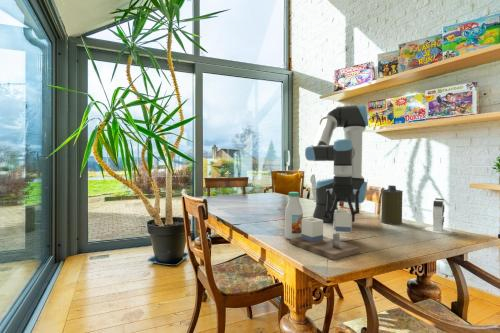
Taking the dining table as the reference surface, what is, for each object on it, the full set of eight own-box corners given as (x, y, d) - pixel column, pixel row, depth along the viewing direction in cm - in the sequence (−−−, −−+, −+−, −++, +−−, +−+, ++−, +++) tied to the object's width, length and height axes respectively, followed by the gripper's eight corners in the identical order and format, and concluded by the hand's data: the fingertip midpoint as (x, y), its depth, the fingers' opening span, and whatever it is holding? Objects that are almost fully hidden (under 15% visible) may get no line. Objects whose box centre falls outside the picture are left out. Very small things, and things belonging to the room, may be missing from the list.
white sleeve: (335, 231, 120) (335, 212, 120) (334, 227, 126) (334, 209, 126) (350, 231, 119) (350, 213, 118) (348, 228, 125) (348, 210, 124)
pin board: (290, 243, 115) (290, 226, 115) (315, 238, 123) (315, 222, 123) (333, 260, 97) (334, 239, 97) (359, 252, 104) (359, 233, 104)
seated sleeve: (301, 238, 116) (301, 219, 115) (312, 236, 119) (312, 217, 119) (312, 242, 111) (312, 221, 110) (322, 239, 114) (323, 220, 114)
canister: (405, 225, 147) (405, 186, 146) (383, 224, 149) (384, 186, 148) (398, 220, 158) (399, 184, 157) (378, 219, 160) (379, 184, 159)
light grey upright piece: (452, 235, 128) (452, 202, 127) (422, 231, 135) (423, 200, 134) (452, 229, 137) (453, 199, 137) (425, 226, 144) (425, 197, 144)
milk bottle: (284, 239, 121) (284, 193, 120) (285, 235, 128) (285, 191, 128) (303, 240, 120) (303, 193, 119) (302, 235, 127) (302, 191, 127)
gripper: (320, 176, 119) (320, 230, 121) (368, 176, 116) (367, 232, 117) (319, 174, 127) (319, 225, 128) (364, 175, 123) (364, 227, 124)
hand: (342, 228), depth 122 cm, fingers closed on white sleeve, 6 cm apart
